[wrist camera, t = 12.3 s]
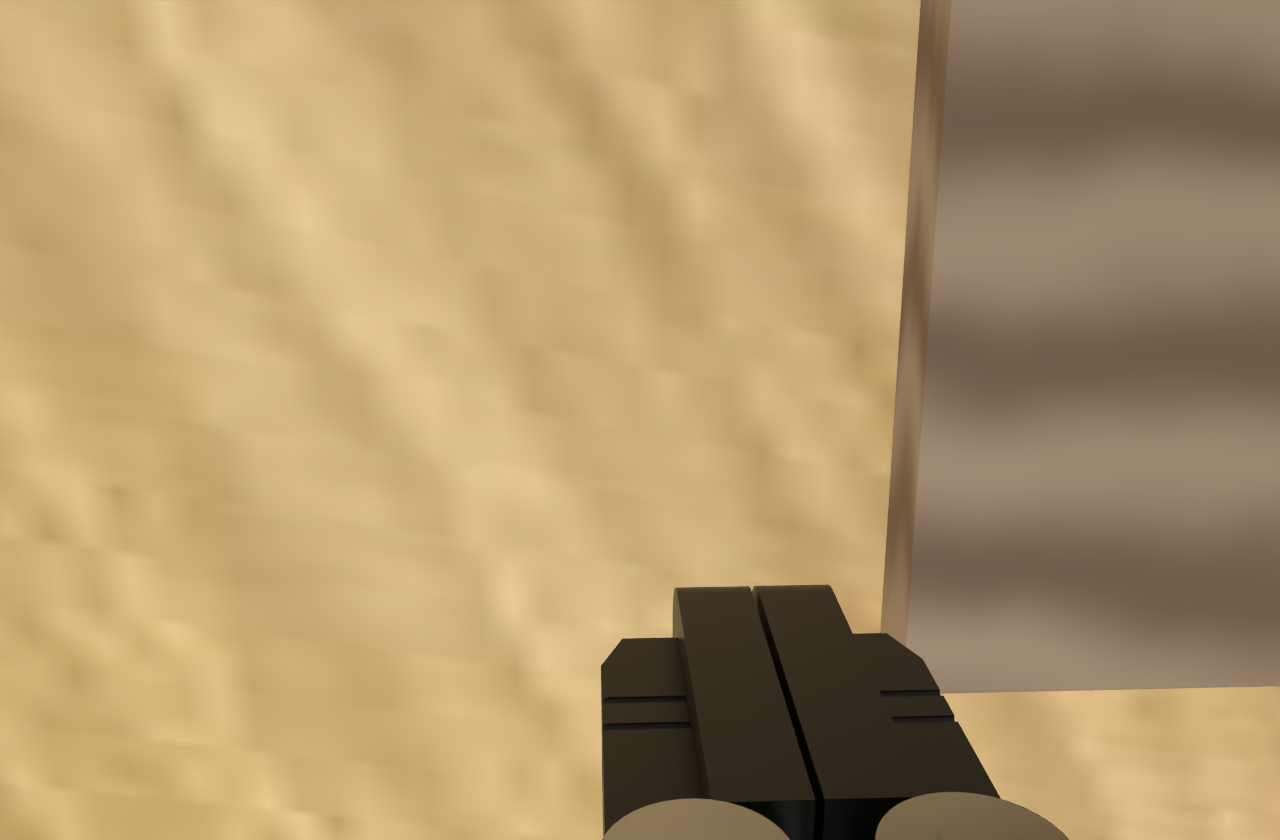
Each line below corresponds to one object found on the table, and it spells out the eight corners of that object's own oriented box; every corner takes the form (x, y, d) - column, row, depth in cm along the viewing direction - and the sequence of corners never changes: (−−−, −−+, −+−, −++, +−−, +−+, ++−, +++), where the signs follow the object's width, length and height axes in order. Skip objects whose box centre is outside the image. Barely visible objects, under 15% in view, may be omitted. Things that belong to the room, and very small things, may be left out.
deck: (925, -65, 33) (956, -76, 30) (1414, -62, 34) (1490, -74, 31) (879, 648, 40) (902, 694, 37) (1291, 640, 40) (1346, 684, 37)
